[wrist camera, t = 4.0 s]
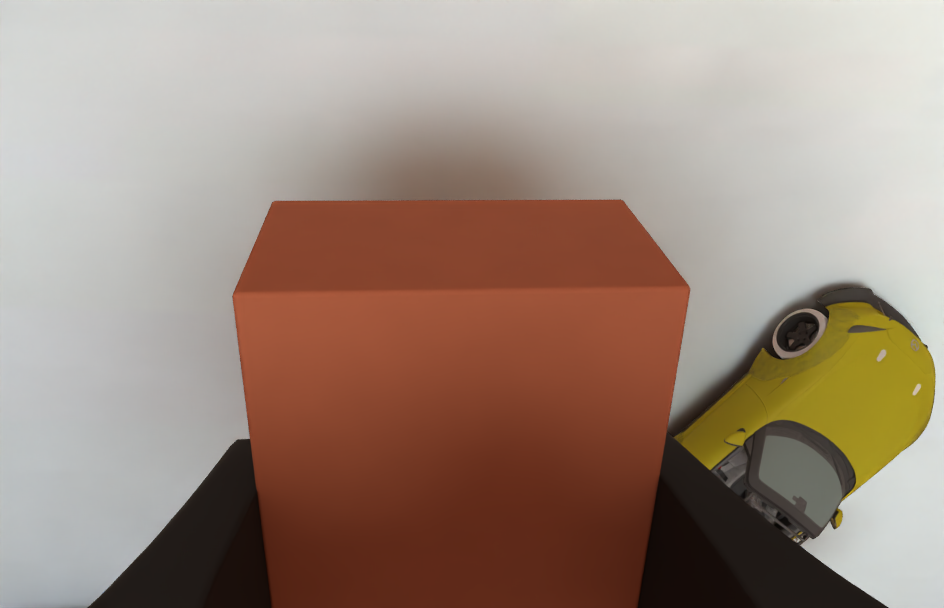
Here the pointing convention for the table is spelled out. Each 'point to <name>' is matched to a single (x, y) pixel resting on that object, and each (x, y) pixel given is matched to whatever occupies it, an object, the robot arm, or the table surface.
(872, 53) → the table surface
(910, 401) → the toy car
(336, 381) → the pad
